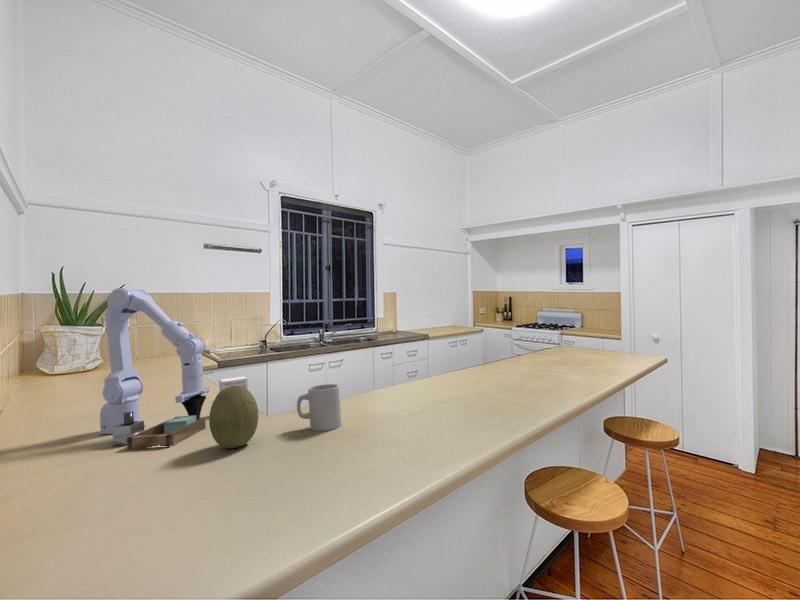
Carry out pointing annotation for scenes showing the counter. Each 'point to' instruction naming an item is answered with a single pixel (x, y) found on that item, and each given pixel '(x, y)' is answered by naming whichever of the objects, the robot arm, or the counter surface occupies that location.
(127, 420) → the pin
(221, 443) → the fruit
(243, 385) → the ink box
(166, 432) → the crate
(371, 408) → the counter surface
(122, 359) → the robot arm
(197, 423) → the bay
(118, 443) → the grey piece
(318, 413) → the mug
